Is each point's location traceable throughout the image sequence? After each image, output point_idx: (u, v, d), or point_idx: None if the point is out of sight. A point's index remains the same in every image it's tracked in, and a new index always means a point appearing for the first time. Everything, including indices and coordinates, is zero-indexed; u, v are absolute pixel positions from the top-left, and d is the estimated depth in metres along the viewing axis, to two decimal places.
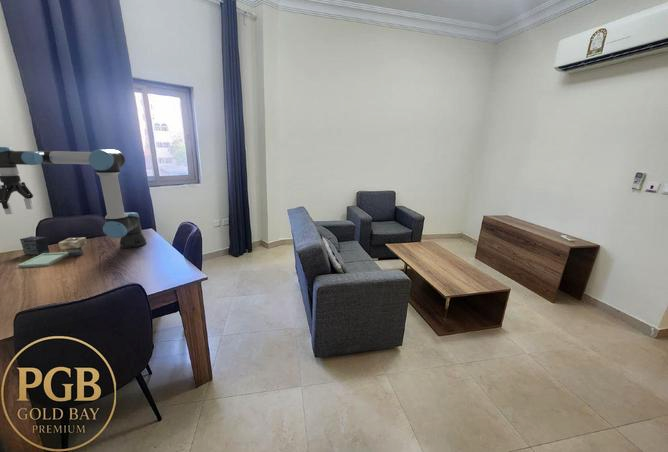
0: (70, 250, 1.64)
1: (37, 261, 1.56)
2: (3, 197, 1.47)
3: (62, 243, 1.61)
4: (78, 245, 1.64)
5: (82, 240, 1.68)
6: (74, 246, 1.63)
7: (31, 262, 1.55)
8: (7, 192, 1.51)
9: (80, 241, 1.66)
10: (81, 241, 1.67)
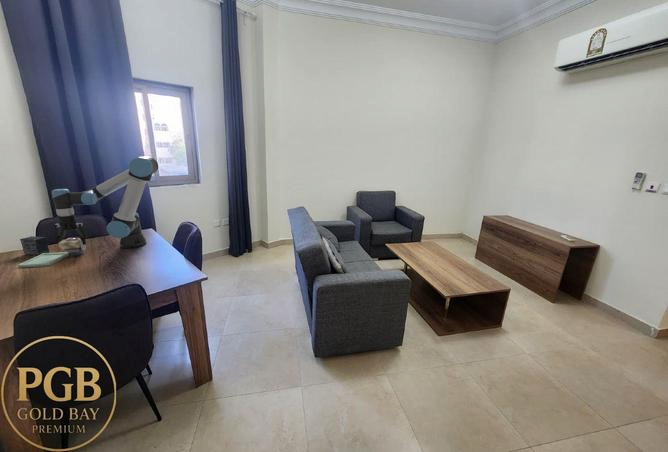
0: (70, 250, 1.64)
1: (37, 261, 1.56)
2: (55, 235, 1.62)
3: (62, 243, 1.61)
4: (78, 245, 1.64)
5: None
6: (74, 246, 1.63)
7: (31, 262, 1.55)
8: None
9: None
10: None
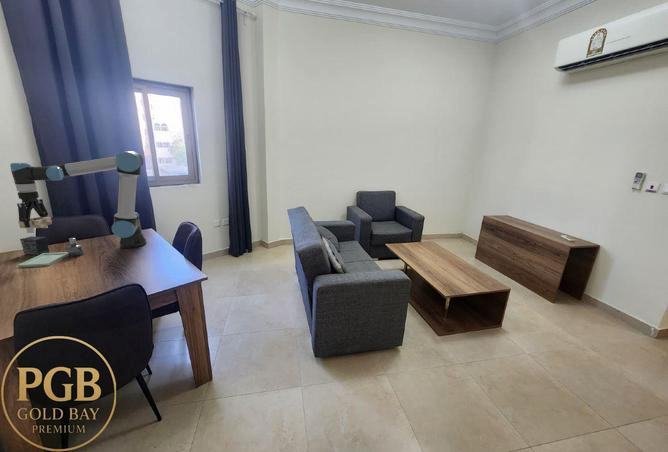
0: (70, 250, 1.64)
1: (37, 261, 1.56)
2: (25, 216, 1.45)
3: (41, 221, 1.51)
4: None
5: None
6: (50, 222, 1.57)
7: (31, 262, 1.55)
8: (27, 210, 1.48)
9: None
10: None
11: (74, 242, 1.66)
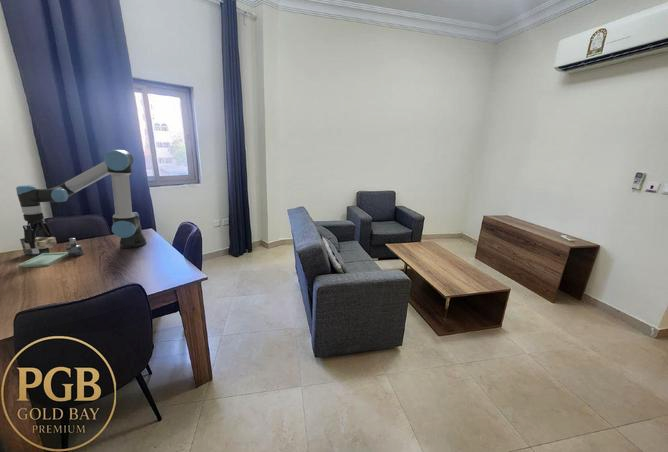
0: (70, 250, 1.64)
1: (37, 261, 1.56)
2: (30, 237, 1.48)
3: (46, 241, 1.55)
4: None
5: None
6: (54, 242, 1.60)
7: (31, 262, 1.55)
8: (32, 231, 1.51)
9: None
10: None
11: (74, 242, 1.66)
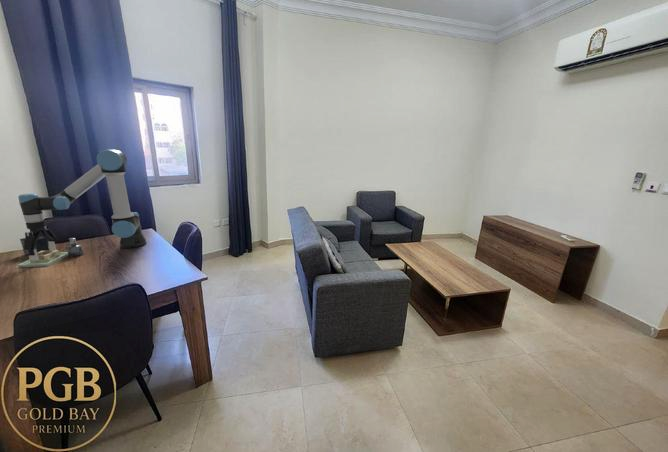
0: (70, 250, 1.64)
1: None
2: (30, 244, 1.48)
3: (50, 255, 1.57)
4: None
5: None
6: (58, 255, 1.63)
7: None
8: (33, 238, 1.51)
9: None
10: None
11: (74, 242, 1.66)
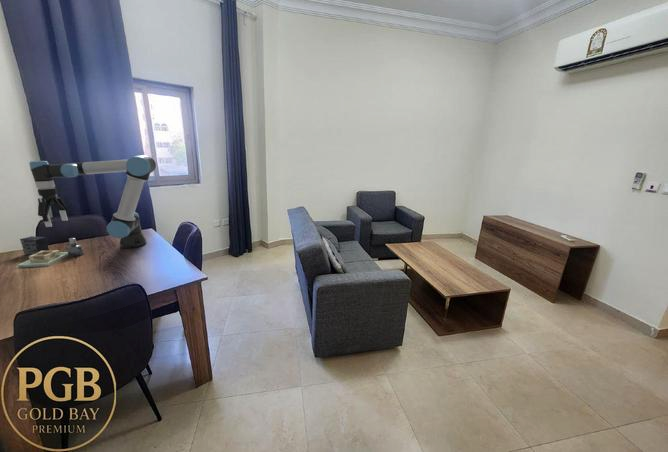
0: (70, 250, 1.64)
1: None
2: (44, 210, 1.51)
3: (50, 255, 1.57)
4: None
5: None
6: (58, 255, 1.63)
7: None
8: (46, 205, 1.54)
9: None
10: None
11: (74, 242, 1.66)
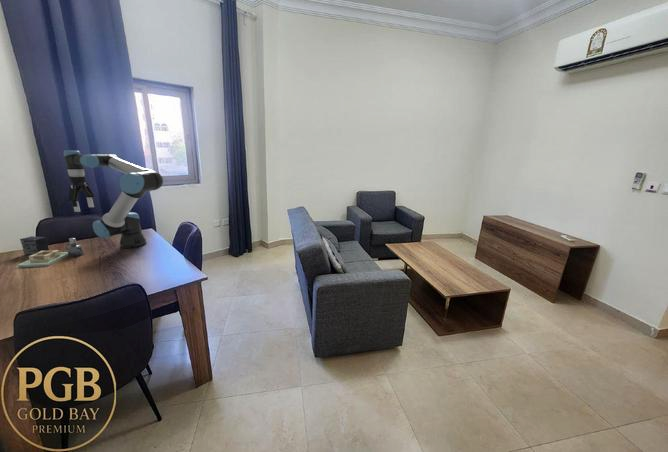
0: (70, 250, 1.64)
1: None
2: (74, 196, 1.62)
3: (50, 255, 1.57)
4: None
5: None
6: (58, 255, 1.63)
7: None
8: (76, 191, 1.66)
9: None
10: None
11: (74, 242, 1.66)
